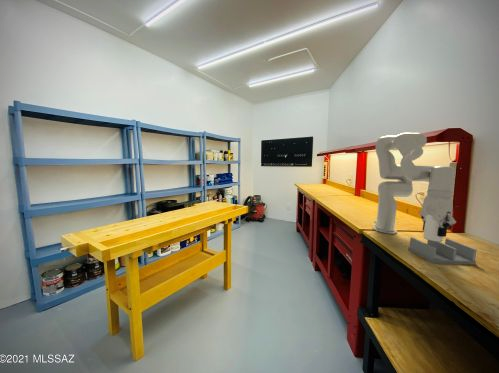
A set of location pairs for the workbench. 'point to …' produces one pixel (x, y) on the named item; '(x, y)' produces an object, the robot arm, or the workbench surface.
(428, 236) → the can
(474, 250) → the rack
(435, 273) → the workbench surface
